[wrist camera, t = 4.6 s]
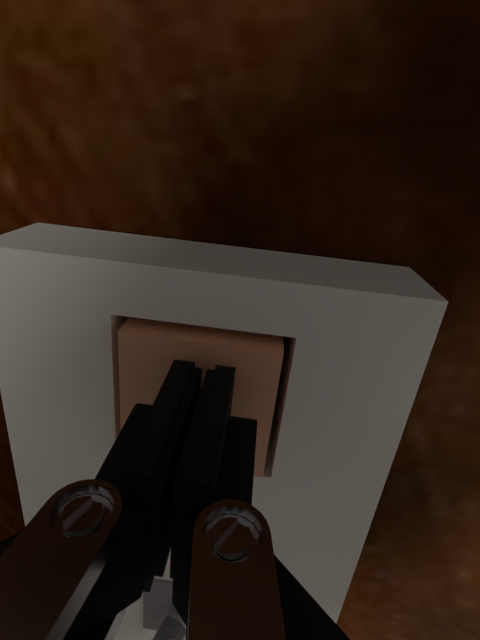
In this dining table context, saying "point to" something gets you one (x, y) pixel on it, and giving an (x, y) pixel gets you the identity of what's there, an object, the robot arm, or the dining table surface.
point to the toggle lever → (171, 628)
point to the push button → (206, 351)
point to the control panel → (227, 313)
